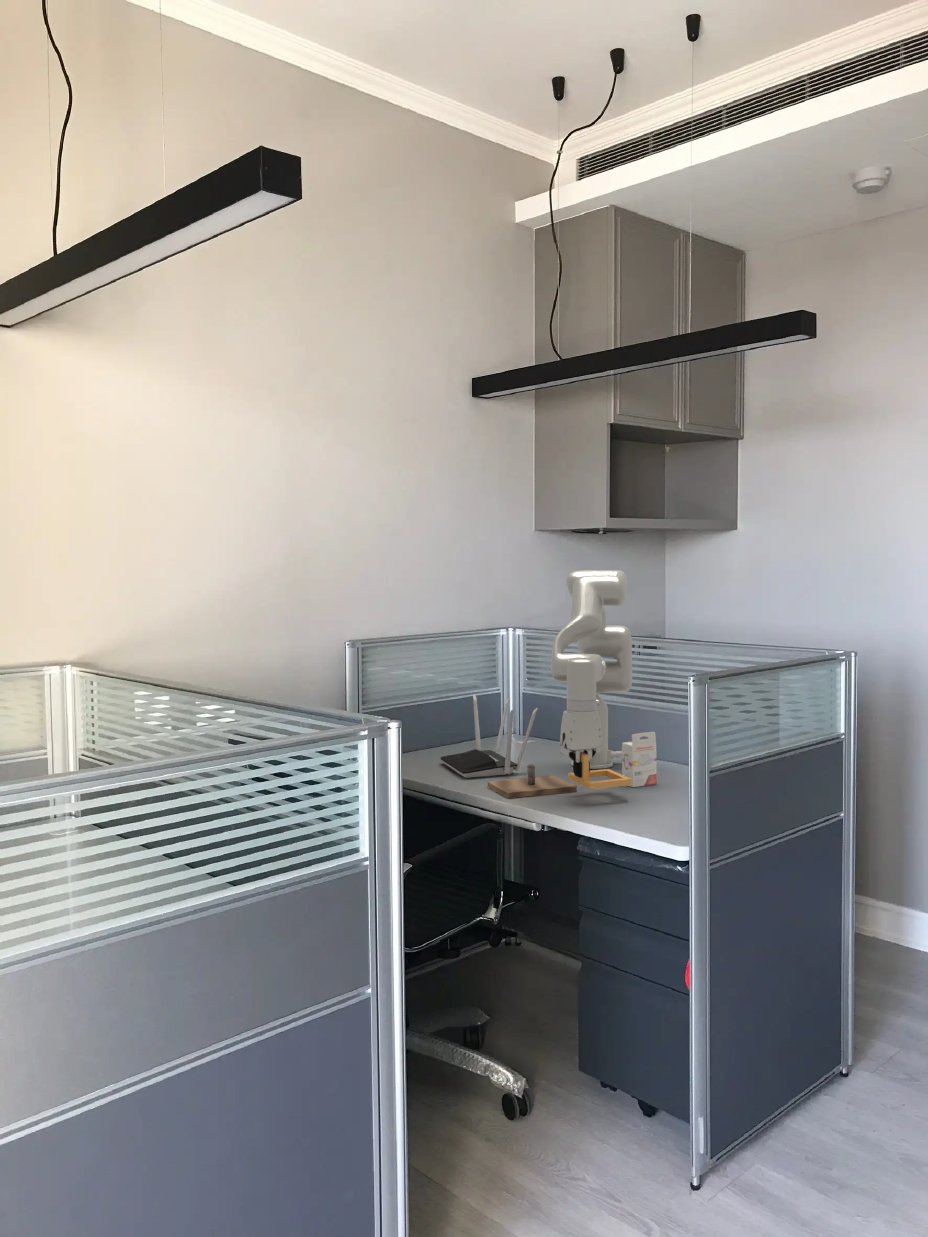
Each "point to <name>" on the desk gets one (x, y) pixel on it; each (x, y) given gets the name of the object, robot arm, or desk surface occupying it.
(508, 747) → the wireless router
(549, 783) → the wooden peg board
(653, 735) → the ink cartridge box
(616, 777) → the link
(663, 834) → the desk surface
